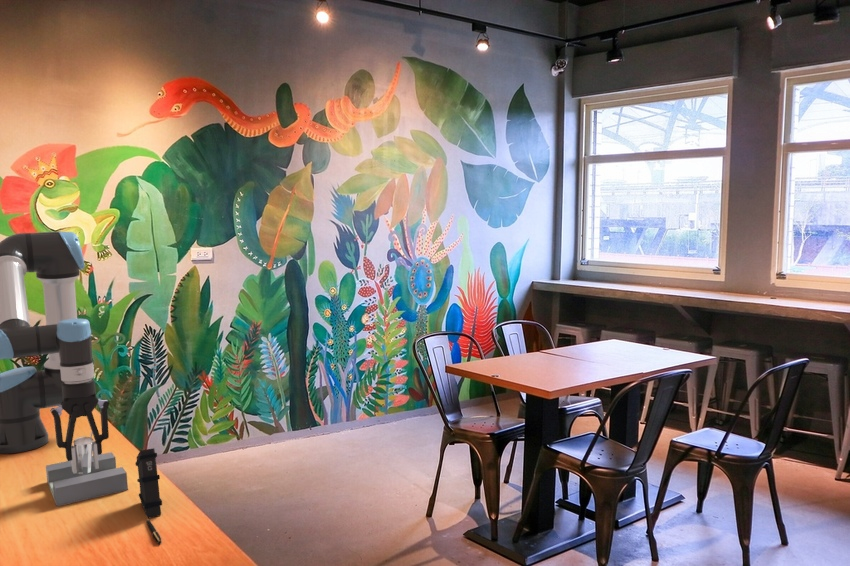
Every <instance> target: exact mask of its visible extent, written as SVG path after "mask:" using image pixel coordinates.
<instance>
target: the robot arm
mask: <svg viewBox="0 0 850 566" xmlns="http://www.w3.org/2000/svg"><path fill="white" fill-rule="evenodd" d="M85 266H86V265H85V259H84V254H83V251H82V246H81V244H80V239H79V237H78V235H77V233H74V231H73V232H72V231H45V232H42V231H41V232H40V231H39V232H20V233H14V234H11V235H10V236H7V237H6V238H4V239H2V240H1V241H0V360H12V359H19V358H26V357H34V356H43V355H48V359H47V360H46V361H45V362H44V364H43V370H42V369H41V370H37V368H36V367H35V366H31V365H30V366H22V367H18V368H13V369H10V370H6V371H4V372H1V373H0V454H1V455H3V454H5V455H6V454H17V453H23V452H28V451H32V450H35V449H38V448H41V447H43V446H45V445H47V444H48V443H49V441H50V440H49V433H48V431H47V429H46V427H45V425H44V423H43V421H42V419H41V413H40V409H48V408H50V409H49V410H50V413H51V415H52V417H53V421H54V430H55V431H54V432H55V442H56V445H57V448H59V449H65V458H66V461H70V460H71V464H72V471H73V473H74V474H75V473H77V467H76V455H75V448H74V445H73V441H74V440H73V438H74V433H75V427H76V423H77V418H78V419H79V418H81V417H86V419H87V421H88V424H89V427H90V430H91V432H92V433H93V434H92V437H93V438H94V439H93V451H92V456H93V462H94V467H95V469H98V468H99V464H98V455H100V454H103V448H102V445H103V444H102V443H103V441H105V440H107V439H109V438H110V437H109V436H110V435H109V432H110V431H109V420H108V419H109V418H108V409H109V405H110V402H109V401H108V399H99V398H98V397H97V393H96V381H95V379H94V377H95V371H94V369H95V368H94V360H93V345H92V329H91V325H90V324H91V323H90V321H89V320H88V319H87V318H78V312H77V311H78V309H77V299H76V298H77V297H76V296H77V295H76V284H75V283H76V282H75V281H76V280H77V279H78V278H79V277H80V270H81V271H82V270H84V269H85ZM27 273H35V274H36V275H35V276H36V279H37V280H39V281H40V282H41V283H42V288H43V289H42V290H43V300H44V301H43V302H44V312H45V313H44V315H45V325H36V326H35V325H33V326H31V322H30V320H31V319H30V313H29V307H28V298H27V292H26V291H27V290H26V283H25V276H26V275H27ZM97 405H98V408H99V409H100V422H101V423H100V424H101V425H100V426H101V434H100V433H99V430H98V426H97V423H96V420H95V418H94V414H93V411H94V410H95V409H96V407H97ZM63 410H64V411H65V412H66V413H67V414H68V423H67V429H66V434H65V439H64V440H65V441H64V440H63V438H64V437H63V429H62V420H61V416H62V414H63V413H62V412H63Z"/></svg>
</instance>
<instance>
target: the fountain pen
mask: <svg viewBox="0 0 850 566" xmlns="http://www.w3.org/2000/svg"><path fill="white" fill-rule="evenodd" d="M146 525H147V527H148V529H149V531H150V533H151V535H152V538H153V539H154V540H155V542H156V543H157V544H158V545H161V544H162V538H161V535H160V534H159V532H158V530H157V529H156V527H155V526H154V525H153V523H152V522H151V520H150V519H149V518H146Z"/></svg>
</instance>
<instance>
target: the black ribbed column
mask: <svg viewBox="0 0 850 566" xmlns="http://www.w3.org/2000/svg"><path fill="white" fill-rule="evenodd" d="M157 457H158V453H157V452H155V448H154V447H152V448H148V449H143V450H139V451H138V454H137V455H136V461H135V464H134V465H135V467H137V472H138V473H137V475H138V478H137V482H138V483H139V493H138V498H139V499H140V502H141V503H140V504H141V506H142V508H143V511H144V514H145V516H146V519H151V518H156V517H160V516H162V511H161V509H162V508H161V506H163V500H162V499H161V496H160V488H159V487H160V485H159V480H160V479H161V477H160V476H161V475H160V474H158V468H157V459H156V458H157Z"/></svg>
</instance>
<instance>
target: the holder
mask: <svg viewBox="0 0 850 566" xmlns="http://www.w3.org/2000/svg"><path fill="white" fill-rule="evenodd" d="M116 459H117V458H116V456H115V455H114V453H113V452H112V451H110V452H106V453H102V454H100V455H98V464H99V468H98V469H95V467H94V462H93V455H92V469H91V472H90V473H88V474H78V473H75V474H74V473H73V471H72V464H71V460H70V461H68V460H65V461H61V462H57V463H53V464H52V463H51V464H46V465H45V470H46V481H47V485H48V488H49V490H50V493H51V496H52V497H53V500H54V503H55V504H56V507H62V506H65V505H68V504H74V503H78V502H83V501H87V500H91V499H95V498H98V497H99V498H100V497H105V496H108V495H111V494H116V493H121V492H125V491H128V490H129V487H128V486H129V485H128V473H127V471H126V470H125V468H124V467H123V466H120V467H117V462H116V461H117V460H116ZM76 467H77V466H76Z"/></svg>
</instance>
